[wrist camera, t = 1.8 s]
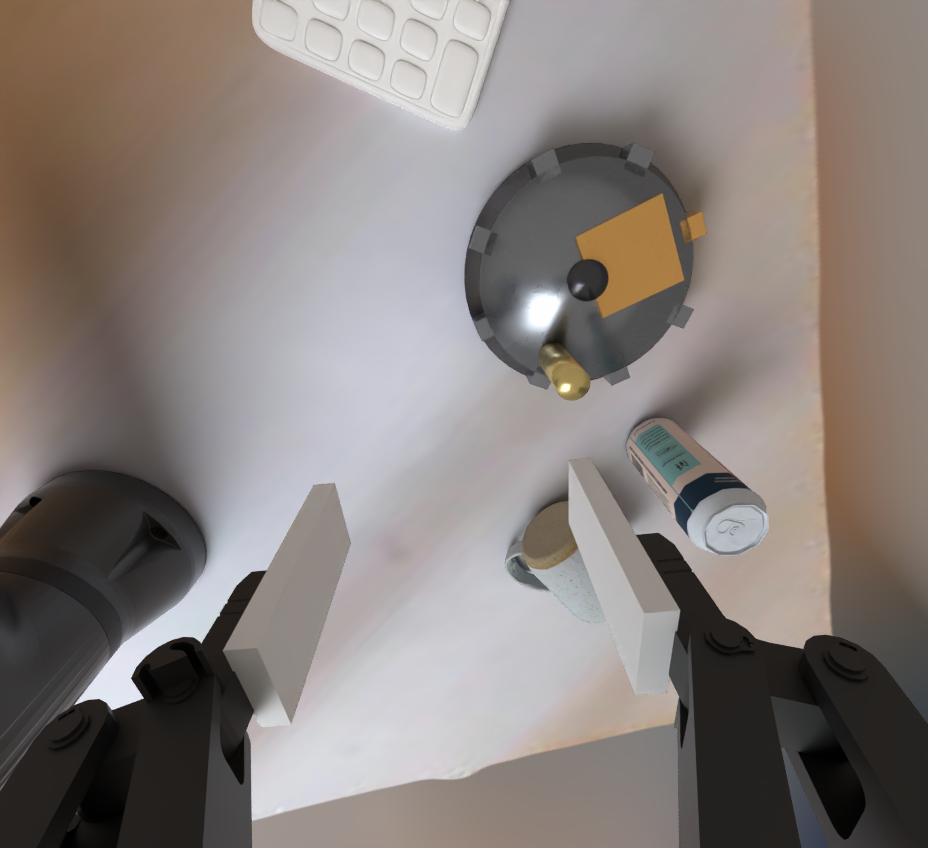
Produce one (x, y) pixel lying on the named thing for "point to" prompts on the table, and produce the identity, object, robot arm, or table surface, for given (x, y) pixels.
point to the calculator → (392, 48)
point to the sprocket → (585, 268)
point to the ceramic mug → (555, 563)
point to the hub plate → (495, 207)
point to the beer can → (697, 489)
